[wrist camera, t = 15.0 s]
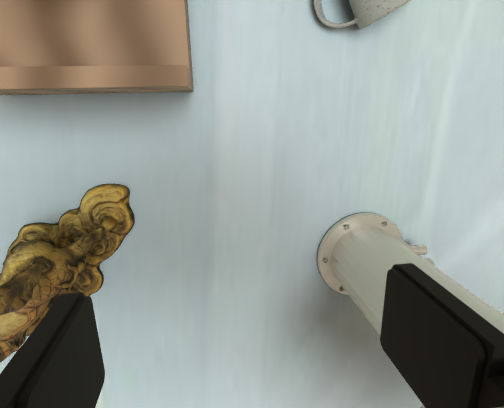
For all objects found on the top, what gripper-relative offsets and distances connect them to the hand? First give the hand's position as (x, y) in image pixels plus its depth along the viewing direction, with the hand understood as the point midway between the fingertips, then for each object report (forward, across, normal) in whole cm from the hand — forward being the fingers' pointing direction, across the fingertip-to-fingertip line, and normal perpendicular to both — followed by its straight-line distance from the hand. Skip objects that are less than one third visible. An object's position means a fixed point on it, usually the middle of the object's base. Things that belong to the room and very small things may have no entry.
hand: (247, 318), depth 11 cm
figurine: (+34, +19, +12) cm, 41 cm away
